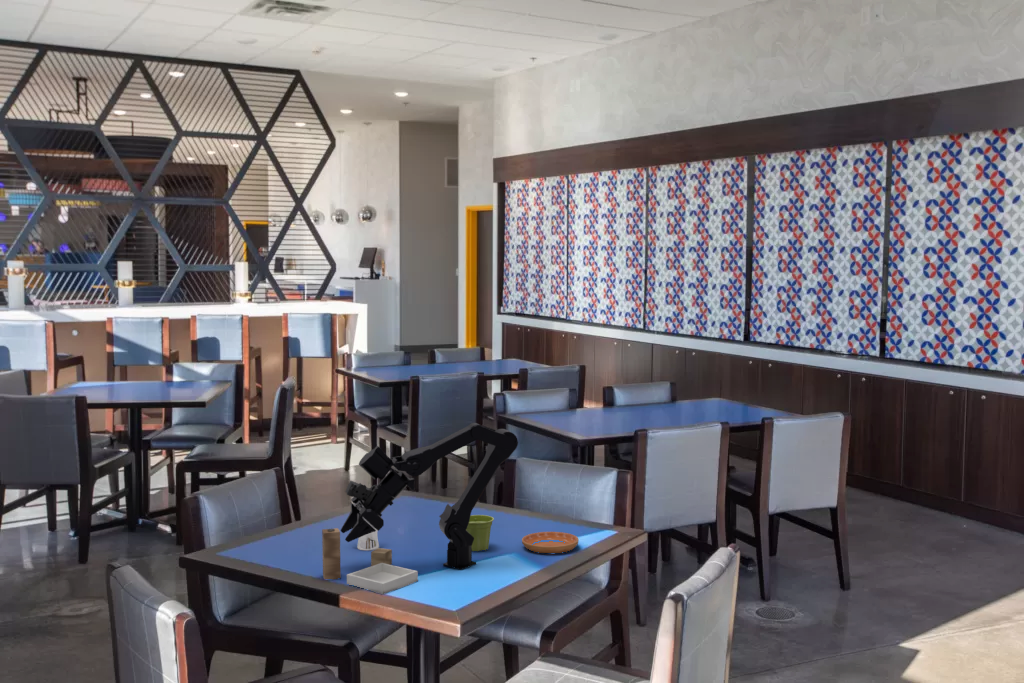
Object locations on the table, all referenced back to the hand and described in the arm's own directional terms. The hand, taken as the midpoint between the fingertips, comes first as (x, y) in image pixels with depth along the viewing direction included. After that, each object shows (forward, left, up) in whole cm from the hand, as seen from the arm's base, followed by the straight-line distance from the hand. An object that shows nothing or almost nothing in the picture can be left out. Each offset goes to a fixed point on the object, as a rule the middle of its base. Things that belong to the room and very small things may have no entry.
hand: (344, 536), depth 244 cm
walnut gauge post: (+3, -2, -10) cm, 11 cm away
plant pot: (-39, +12, -10) cm, 43 cm away
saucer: (-52, +28, -11) cm, 60 cm away
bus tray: (-1, +12, -10) cm, 16 cm away
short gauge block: (-12, +1, -10) cm, 16 cm away
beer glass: (-22, -14, -10) cm, 28 cm away
